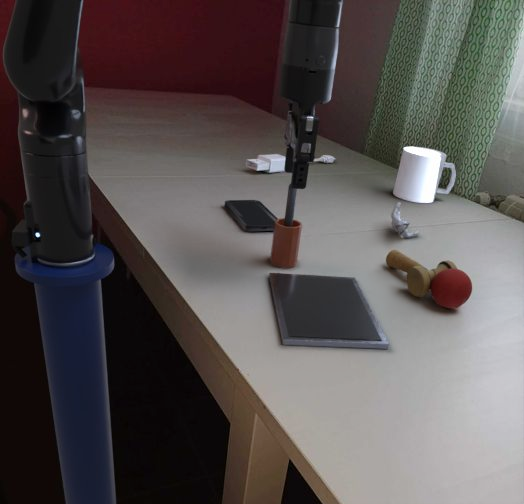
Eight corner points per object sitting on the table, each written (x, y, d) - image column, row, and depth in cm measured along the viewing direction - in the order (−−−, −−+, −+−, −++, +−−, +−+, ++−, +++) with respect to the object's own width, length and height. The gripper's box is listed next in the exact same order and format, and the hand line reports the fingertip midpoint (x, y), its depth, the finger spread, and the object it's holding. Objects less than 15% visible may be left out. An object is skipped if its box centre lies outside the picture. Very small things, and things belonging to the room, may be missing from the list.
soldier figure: (415, 230, 115) (430, 232, 103) (396, 244, 116) (408, 248, 104) (394, 200, 113) (407, 199, 102) (375, 214, 114) (385, 215, 103)
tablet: (282, 344, 69) (283, 338, 69) (268, 277, 86) (269, 271, 85) (387, 349, 71) (389, 343, 70) (354, 281, 87) (355, 276, 87)
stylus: (279, 261, 90) (289, 183, 83) (279, 258, 91) (288, 181, 84) (288, 261, 90) (298, 184, 83) (287, 258, 91) (297, 181, 84)
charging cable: (339, 166, 155) (341, 154, 153) (257, 174, 134) (259, 160, 133) (326, 162, 158) (328, 150, 156) (244, 169, 137) (245, 155, 135)
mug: (444, 195, 137) (457, 152, 131) (450, 207, 129) (464, 161, 123) (391, 187, 138) (401, 144, 132) (394, 199, 130) (405, 153, 124)
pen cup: (271, 267, 89) (276, 226, 85) (269, 256, 93) (273, 217, 89) (297, 268, 89) (303, 228, 86) (294, 258, 93) (299, 219, 89)
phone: (258, 199, 114) (284, 225, 103) (258, 205, 115) (283, 230, 103) (223, 200, 112) (245, 226, 100) (222, 205, 112) (245, 232, 101)
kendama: (368, 275, 93) (438, 312, 78) (378, 239, 91) (452, 270, 76) (402, 279, 97) (475, 314, 82) (413, 244, 94) (490, 275, 80)
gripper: (276, 55, 80) (266, 166, 89) (288, 65, 68) (275, 192, 77) (326, 60, 81) (310, 169, 90) (345, 71, 69) (326, 195, 78)
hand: (294, 179), depth 84 cm, fingers open, 8 cm apart
